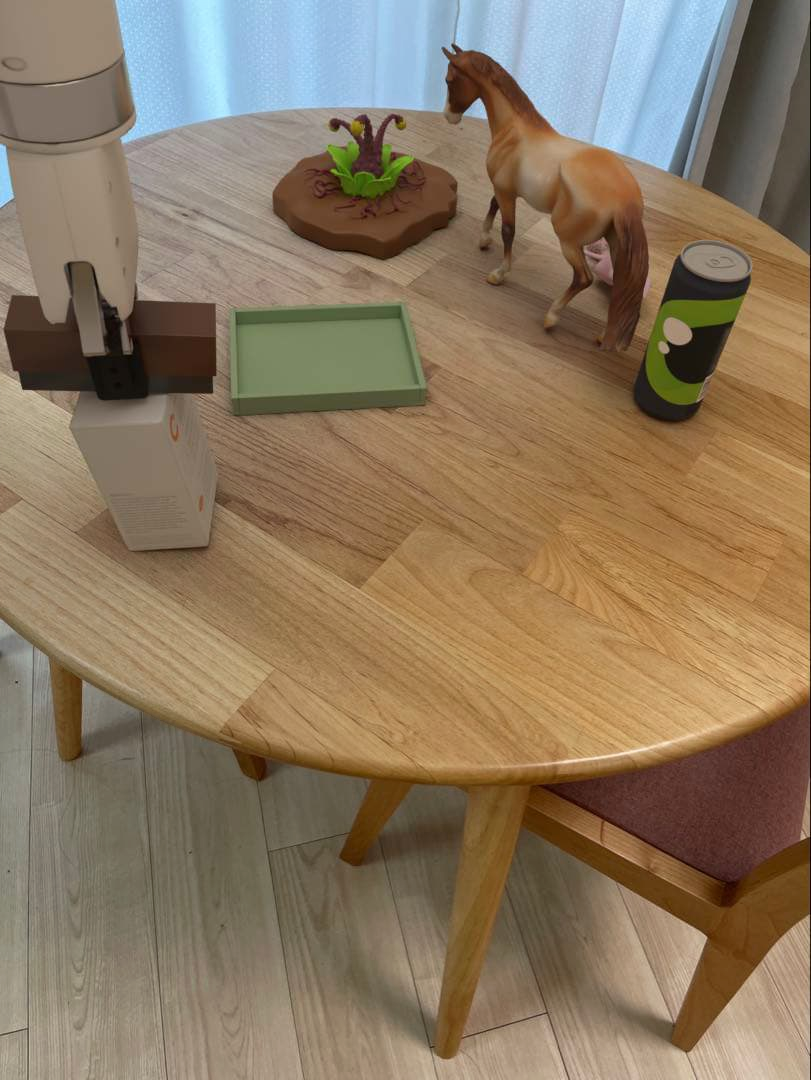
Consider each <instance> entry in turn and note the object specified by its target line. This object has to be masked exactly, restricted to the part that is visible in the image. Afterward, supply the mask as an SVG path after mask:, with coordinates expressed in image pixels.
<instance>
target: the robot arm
mask: <svg viewBox="0 0 811 1080" xmlns="http://www.w3.org/2000/svg"><path fill="white" fill-rule="evenodd" d="M116 2H117V1H116V0H0V145H1V146H4V147H5V153H6V161H7V167H8V174H9V179H10V184H11V190H12V196H13V199H14V204H15V210H16V214H17V218H18V222H19V227H20V230H21V234H22V239H23V242H24V246H25V250H26V254H27V259H28V262H29V266H30V268H31V274H32V277H33V281H34V284H35V288H36V292H37V296H39V300H40V303H41V307H42V310H43V314H44V316H45V318H46V319H47V320H48V321H49V322H50V323H52V324H58V323H65V321H66V316H67V311H68V306H69V301H70V297H71V298H72V302H73V306H74V310H75V315H76V319H77V323H78V327H79V332H80V338H81V345H82V351H83V354H84V356H86V359H87V362H88V366H89V369H90V373H91V376H92V380H93V383H94V387H95V390H96V394H97V397H98V398H99V399H100V400H103V401H107V400H125V399H143V398H146V397H147V396H148V384H147V380H146V375H145V371H144V367H143V362H142V358H141V353H140V349H139V345H138V344H133V341H132V336H131V331H130V326H129V321H128V316H129V315H130V314H131V312H132V310H133V303H134V300H139V290H138V285H137V273H138V272H137V271H138V262H139V261H138V259H139V228H138V219H137V212H136V206H135V201H134V195H133V189H132V185H131V179H130V174H129V168H128V165H127V164H128V163H127V160H126V159H127V158H126V155H125V151H124V147H123V142H122V137H124V136H125V135H127V134H128V133H129V131H130V130H132V129H133V128H134V126H135V124H136V122H137V116H138V115H137V110H136V105H135V99H134V94H133V90H132V84H131V79H130V78H131V77H130V73H129V72H130V71H129V68H128V67H129V66H128V63H127V57H126V51H125V46H124V39H123V34H122V29H121V24H120V18H119V12H118V8H117V7H118V6H117V3H116ZM101 300H106V301H107V302H102V301H101ZM106 319H116V323H117V328H118V332H116V331H115V330H106V328H105V322H104V320H106Z"/></svg>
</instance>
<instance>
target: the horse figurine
mask: <svg viewBox="0 0 811 1080" xmlns="http://www.w3.org/2000/svg"><path fill="white" fill-rule="evenodd" d="M450 46H451V48H452V49H453V51H454V53H455V54H454V53H452V52H451V51H450V50H448V49H447V48H446V47H445V46H441V50H442V53H443V54H444V56H445V57H446V58H447V60H448V61H449V62H448V63H447V73H446V76H445V78H444V81H445V83H446V86H447V88H446V99H445V104H444V109H443V110H442V114H443V117H444V119H445V120H447V123H448V124H449V125H456V126H457V125H459V124H460V123H461V121H462V119H463V118H462V117H463V115H464V114H465V113H466V112H467V111H468V110H469V108H471V106H472V105H473V104H474V103H475V102H476V101H477V100H478V99H480V100H481V102H482V105H483V107H484V109H485V113H486V118H487V121H488V125H489V130H490V136H491V143H490V145H489V147H488V150H487V154H486V159H485V168H486V173H487V176H488V178H489V180H490V182H491V184H492V186H493V194H494V195H493V196H492V198H491V199H490V202H489V209H488V212H487V214H486V216H485V218H484V220H483V222H482V231H481V233H480V240H479V242H478V247H479V248H484V247H487V246H489V245H492V244H493V240H494V237H493V234H492V233H491V230H492V229H493V228H494V227H493V226H494V221H495V219H496V216H497V213H498V211H499V212H500V216H501V226H500V231H501V233H500V234H501V239H502V242H503V257H502V261H501V263H500V266H499V268H495V269H493V270H492V271H491V272H490V273H489V274H488V276H487V277H486V281H487V282H488V283H490V284H493V285H500V284H502V282H503V280H505V274H508V273H510V272H511V270H512V267H513V266H512V250H513V243H514V239H515V236H516V210H517V209H516V208H517V198H521V199H523V200H524V202H526V204H528V205H529V206H530V207H531V208H532V209H533V210H535V211H537V212H538V213H539V212H540V213H542V214H545V215H550V223H551V225H552V229H553V231H554V234H555V236H556V237H557V238H558V240H559V244H560V250H561V253H562V255H563V257H564V259H565V260H566V262H567V263H568V264H569V266H570V267H571V268H572V270H573V276H572V281H571V283H570V285H569V286H568V287H567V288H566V290H565V291H564V292H563V293H561V294H560V295H559V296H558V297H557V298H555V299H554V300H553V301H552V303H551V306H550V308H549V310H548V311H547V313H546V315H545V320H544V323H543V328H544V329H548V328H551V327H553V326H555V325H558V324H559V323H560V315H559V312H561V311H564V309H565V308H566V307H567V305H568V304H569V303H570V302H571V301H572V300H573V299H574V298H575V297H576V296H577V295H578V294H580V293H581V292H582V291H584V290H587V289H588V288H590V287H591V286H592V285H593V282H594V280H595V279H594V278H595V275H594V274H593V271H592V270H591V268H590V267H589V264H588V262H587V258H586V255H585V254H584V250H583V249H584V247H585V246H586V247H587V245H589V244H592V243H595V242H597V241H599V240H600V239H601V238H603V237H604V239H605V240H606V241H607V243H608V245H609V250H610V257H611V263H612V268H613V286H612V289H611V292H610V295H609V301H608V310H607V319H606V326H605V329H604V330H603V331H602V332H601V333H599V335H598V336H597V337H596V338H597V341H599V343H600V345H599V347H598V351H599V352H602V351H605V352H606V353H607V352H610V351H611V350H612V349H614V350H615V351H616V352H617V353H620V352H626V351H628V348H629V347H630V346H631V343H632V340H633V339H634V335H635V333H636V330H637V325H638V323H639V320H640V317H641V307H642V302H643V300H644V299H643V292H644V287H645V284H646V279H647V276H648V275H649V269H650V264H649V261H650V255H649V244H648V239H647V235H646V230H645V227H644V223H643V215H644V208H645V203H644V197H643V193H642V190H641V189H642V188H641V186H640V185H639V182H638V181H637V179H636V178H635V176H634V175H633V173H632V172H631V171H630V169H629V168H628V167H627V166H626V164H625V163H624V162H623V160H622V159H621V158H620V157H619V156H617V154H615V153H614V152H612V151H611V150H609V149H607V148H603V147H597V146H589V145H586V144H582V143H580V142H577V141H574V140H572V139H570V138H567V137H565V136H563V135H561V134H560V133H559V132H558V131H557V130H556V129H555V128H554V127H553V126H552V125H551V124H550V123H549V121H548V120H547V119H546V118H545V117H544V116H543V115H542V114H541V113H540V112H539V111H538V110H537V109H536V107H535V105H534V103H533V101H532V100H531V99H530V98H529V96H528V94H527V93H526V92H525V91H524V90H523V89H522V87H521V86H520V85H519V84H518V82H517V80H516V79H515V78H514V77H513V75H511V74H510V73H509V72H508V70H506V69H505V68H504V67H503V66H502V65H501V64H500V63H499V62H498V61H496V60H495V59H494V58H493V57H492V56H490V55H488V54H486V53H484V52H481V51H476V50H474V49H469V50H464V49H462V48H461V47H460V46H459V45H457V44H455V43H454V42H452V43H451V44H450Z"/></svg>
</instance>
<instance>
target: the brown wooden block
mask: <svg viewBox="0 0 811 1080" xmlns="http://www.w3.org/2000/svg"><path fill="white" fill-rule="evenodd" d="M101 301H102V302H107V301H106V300H101ZM216 306H217V304H216V302H213V303H212V302H195V301H193V302H192V301H191V302H190V301H171V300H170V301H169V300H167V301H166V300H144V299H138V300H134V303H133V310H132V312H131V314H130V315H129V316H128V321H129V326H130V331H131V336H132V341H133V344H138V345H139V349H140V353H141V358H142V362H143V367H144V371H145V375H146V380H147V384H148V393H188V394H193V395H194V394H195V395H196V394H197V395H199V394H200V395H213V394H214V377H217V375H218V371H217V309H216V308H217V307H216ZM4 321H5V322H4V326H3V334H4V338H5V343H6V346H7V351H8V355H9V359H10V363H11V368H12V371H13V372H16V373H17V372H18V373H17V374H18V379H19V381H20V386H21V390H22V391H41V392H42V391H44V392H46V391H49V392H80V391H89V392H96V390H95V387H94V383H93V380H92V376H91V373H90V369H89V366H88V362H87V359H86V356H84V354H83V351H82V345H81V338H80V332H79V327H78V323H77V319H76V315H75V310H74V306H73V302H72V298H71V296H70V301H69V306H68V311H67V316H66V321H65V323H58V324H52V323H50V322H49V321H48V320H47V319H46V318H45V316H44V314H43V310H42V307H41V303H40V300H39V296H38V295H25V294H24V295H23V294H22V295H21V294H11V296H10V301H9V305H8V309H7V315H6V317H5V320H4ZM104 322H105V328H106V330H115V331H116V332H118V328H117V323H116V319H106V320H104Z"/></svg>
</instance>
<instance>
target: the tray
mask: <svg viewBox="0 0 811 1080" xmlns="http://www.w3.org/2000/svg"><path fill="white" fill-rule="evenodd" d="M408 309H409V308H408V306H407V301H389V302H388V301H386V302H361V303H337V304H333V303H332V304H311V305H307V304H305V305H284V306H283V305H282V306H281V305H280V306H257V307H255V306H254V307H231V308H228V328H229V330H228V331H229V363H230V365H229V366H230V367H229V369H230V399H231V401H230V402H231V408H232V415H233V416H247V415H268V414H269V415H270V414H283V413H285V414H286V413H287V414H288V413H305V412H323V411H341V410H359V409H360V410H361V409H376V408H377V409H378V408H380V409H381V408H395V407H398V408H399V407H413V406H415V407H416V406H426V403H427V393H428V387H427V382H426V378H425V374H424V371H423V366H422V361H421V358H420V353H419V350H418V346H417V342H416V337H415V334H414V330H413V326H412V323H411V317H410V314H409V310H408Z"/></svg>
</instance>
